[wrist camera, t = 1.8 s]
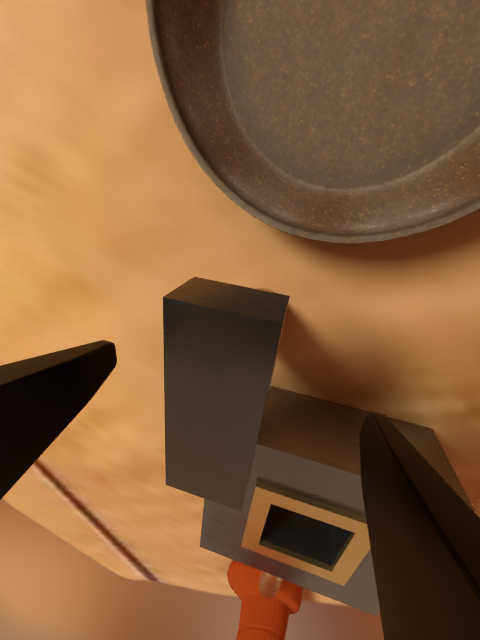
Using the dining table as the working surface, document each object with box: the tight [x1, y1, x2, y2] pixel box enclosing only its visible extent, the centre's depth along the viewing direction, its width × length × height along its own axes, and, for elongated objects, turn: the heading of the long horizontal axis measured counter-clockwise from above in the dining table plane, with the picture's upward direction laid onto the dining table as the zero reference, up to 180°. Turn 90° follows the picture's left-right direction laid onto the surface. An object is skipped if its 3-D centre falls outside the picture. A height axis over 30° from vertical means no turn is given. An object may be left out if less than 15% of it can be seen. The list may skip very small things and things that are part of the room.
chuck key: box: [163, 277, 290, 512], centre depth 11 cm, size 3×7×8 cm, turn 173°
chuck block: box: [200, 386, 475, 616], centre depth 18 cm, size 12×20×5 cm, turn 173°
